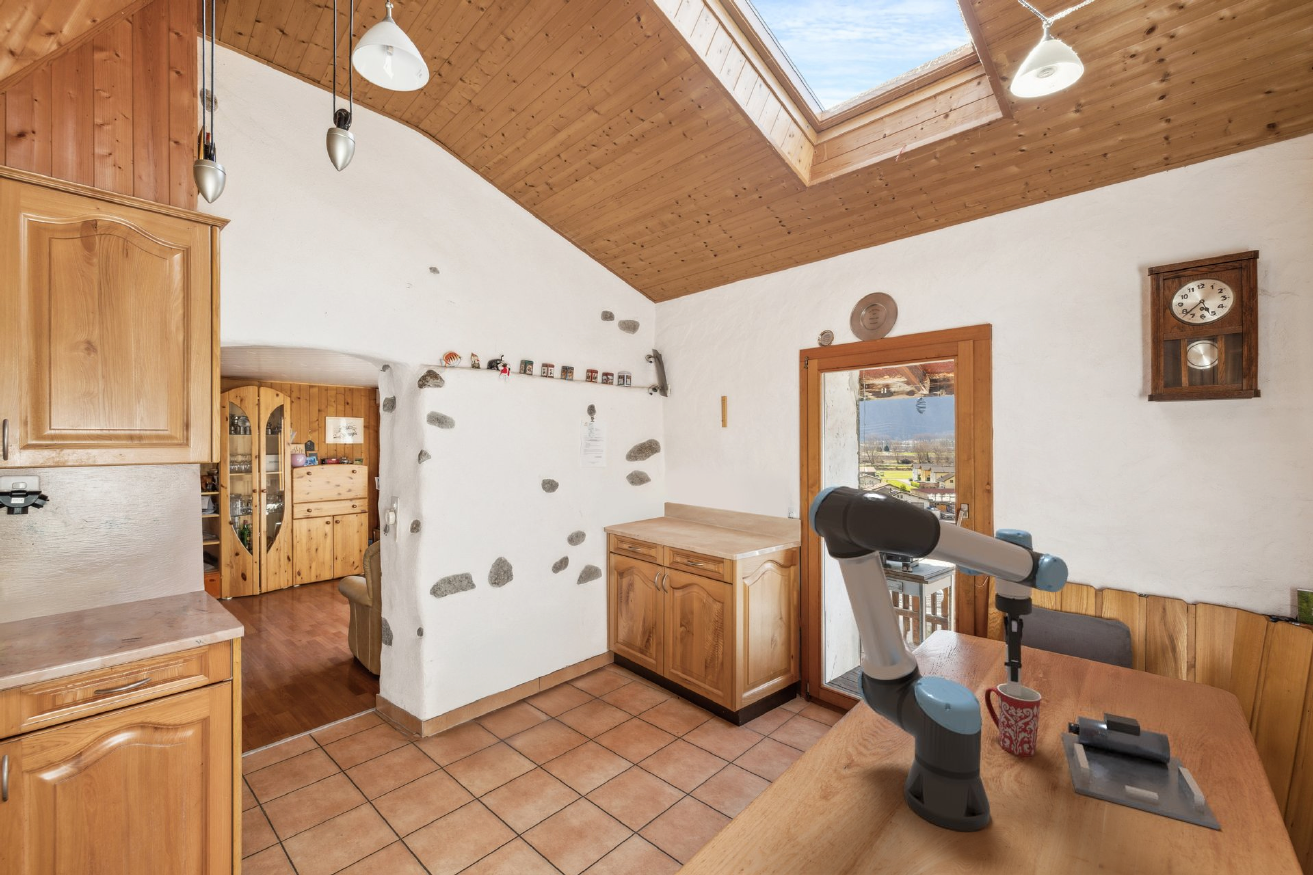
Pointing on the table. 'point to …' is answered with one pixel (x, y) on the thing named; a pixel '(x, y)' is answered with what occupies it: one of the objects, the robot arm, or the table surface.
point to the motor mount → (1133, 769)
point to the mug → (1016, 719)
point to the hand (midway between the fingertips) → (1012, 683)
